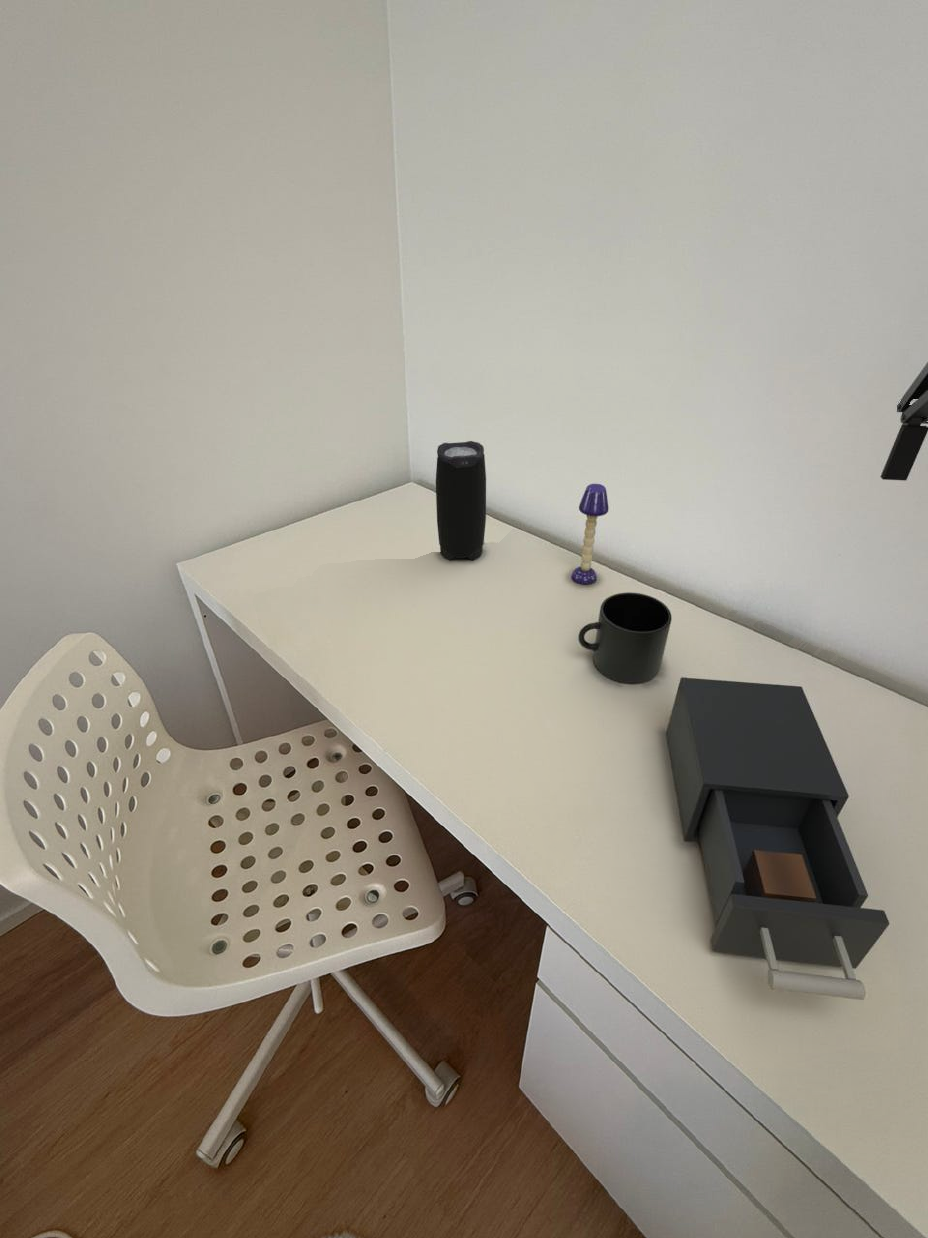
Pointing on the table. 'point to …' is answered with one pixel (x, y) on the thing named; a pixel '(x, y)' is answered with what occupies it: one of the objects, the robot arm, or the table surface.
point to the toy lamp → (590, 529)
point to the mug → (629, 637)
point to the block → (778, 877)
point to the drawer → (788, 926)
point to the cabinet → (746, 745)
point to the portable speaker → (461, 499)
